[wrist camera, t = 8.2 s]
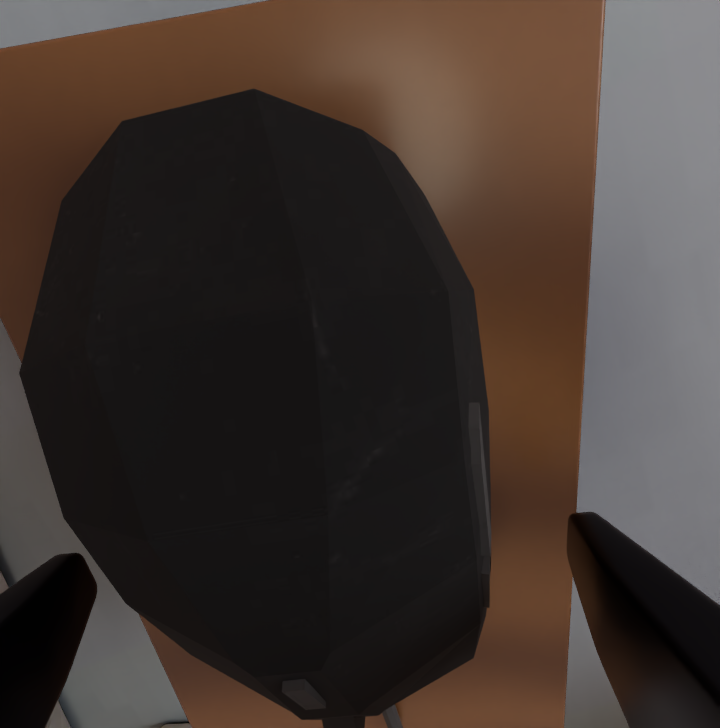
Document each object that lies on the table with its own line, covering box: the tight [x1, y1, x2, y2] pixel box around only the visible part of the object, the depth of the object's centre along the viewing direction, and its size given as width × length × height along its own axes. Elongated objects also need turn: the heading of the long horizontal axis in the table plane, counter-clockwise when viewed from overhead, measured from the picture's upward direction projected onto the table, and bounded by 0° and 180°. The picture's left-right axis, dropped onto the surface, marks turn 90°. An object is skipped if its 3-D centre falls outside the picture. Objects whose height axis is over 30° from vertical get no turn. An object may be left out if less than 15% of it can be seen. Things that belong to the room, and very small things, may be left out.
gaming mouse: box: [19, 89, 491, 728], centre depth 8 cm, size 6×15×4 cm, turn 12°
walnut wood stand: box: [0, 0, 606, 728], centre depth 13 cm, size 17×10×7 cm, turn 8°
